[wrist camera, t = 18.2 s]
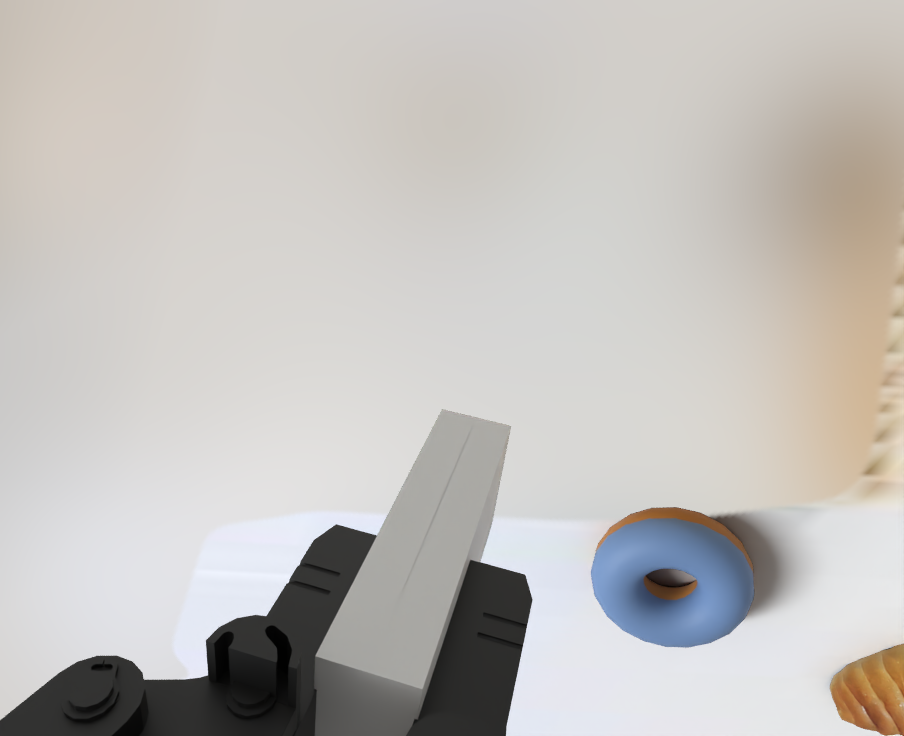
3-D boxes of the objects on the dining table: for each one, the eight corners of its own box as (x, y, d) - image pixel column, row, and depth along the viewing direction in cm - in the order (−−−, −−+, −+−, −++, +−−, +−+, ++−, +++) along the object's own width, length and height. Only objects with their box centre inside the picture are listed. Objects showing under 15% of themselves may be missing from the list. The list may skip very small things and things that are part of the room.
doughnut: (567, 582, 50) (568, 633, 46) (627, 472, 45) (633, 517, 41) (701, 628, 50) (713, 682, 46) (774, 523, 46) (795, 573, 42)
